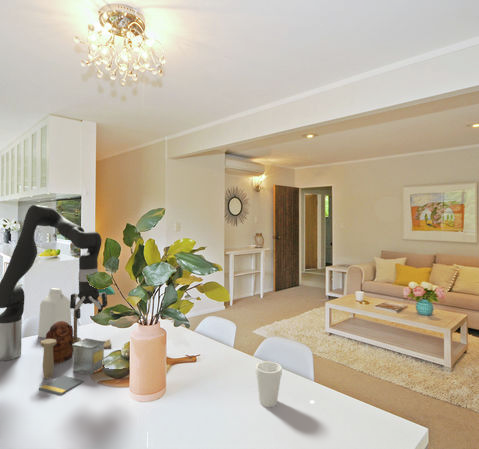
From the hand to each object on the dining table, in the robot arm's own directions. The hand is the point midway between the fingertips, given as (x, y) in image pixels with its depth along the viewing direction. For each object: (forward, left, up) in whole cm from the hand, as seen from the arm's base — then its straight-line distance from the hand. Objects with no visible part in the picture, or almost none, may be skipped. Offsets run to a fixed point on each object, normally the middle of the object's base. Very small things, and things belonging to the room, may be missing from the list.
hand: (89, 317), depth 136 cm
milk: (-54, +31, -25) cm, 67 cm away
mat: (-3, -10, -24) cm, 27 cm away
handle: (-14, -7, -25) cm, 29 cm away
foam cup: (+76, +8, -25) cm, 80 cm away
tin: (-4, +4, -24) cm, 25 cm away
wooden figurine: (-23, +7, -25) cm, 34 cm away
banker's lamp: (-21, +24, -25) cm, 40 cm away
